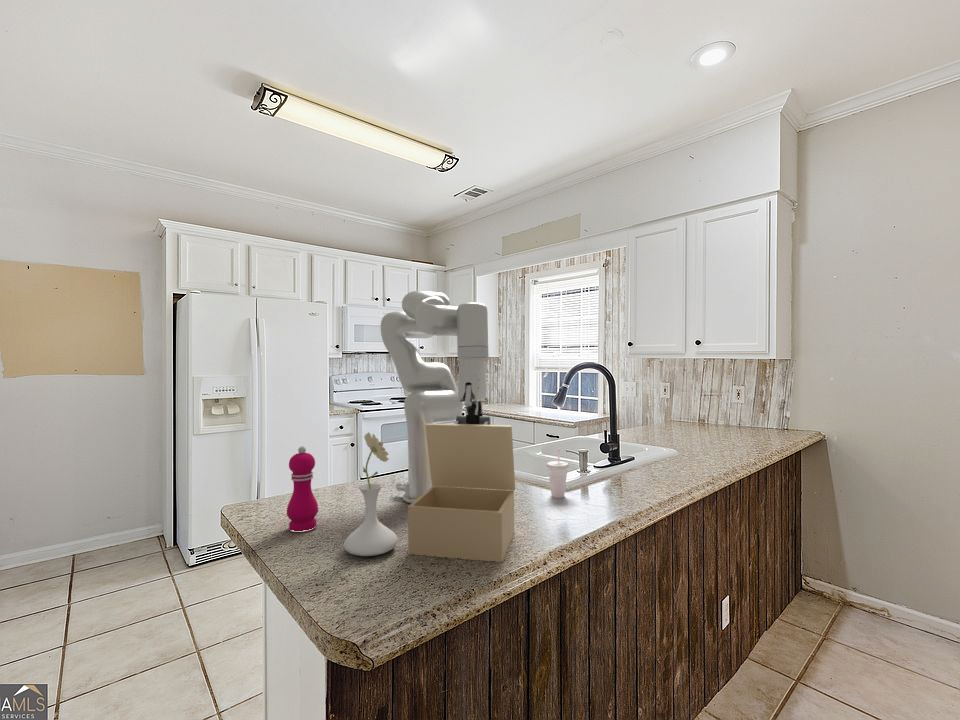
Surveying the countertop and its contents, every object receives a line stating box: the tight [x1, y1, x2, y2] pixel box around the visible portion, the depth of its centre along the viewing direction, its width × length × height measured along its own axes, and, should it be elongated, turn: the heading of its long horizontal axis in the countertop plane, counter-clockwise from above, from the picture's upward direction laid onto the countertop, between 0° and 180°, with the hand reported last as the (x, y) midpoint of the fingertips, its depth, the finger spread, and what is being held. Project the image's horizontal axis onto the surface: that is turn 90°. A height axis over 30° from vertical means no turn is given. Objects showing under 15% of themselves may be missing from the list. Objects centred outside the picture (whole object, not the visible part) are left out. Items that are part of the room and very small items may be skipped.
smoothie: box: [546, 447, 569, 499], centre depth 139 cm, size 6×6×14 cm
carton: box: [407, 486, 515, 563], centre depth 104 cm, size 20×16×10 cm
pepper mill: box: [286, 446, 319, 531], centre depth 114 cm, size 7×7×20 cm
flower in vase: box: [343, 431, 399, 557], centre depth 102 cm, size 13×11×25 cm
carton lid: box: [425, 415, 516, 491], centre depth 113 cm, size 20×16×7 cm
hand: (474, 430), depth 113 cm, fingers open, 2 cm apart
